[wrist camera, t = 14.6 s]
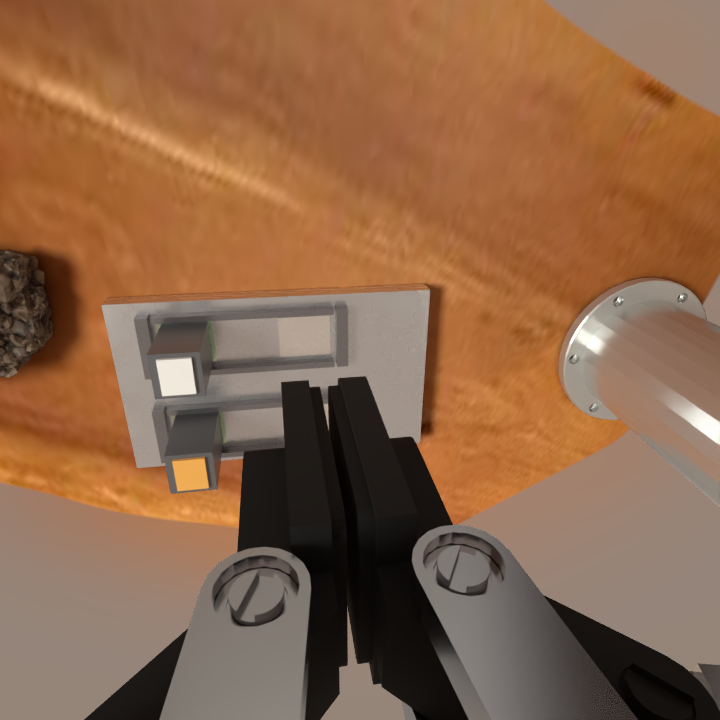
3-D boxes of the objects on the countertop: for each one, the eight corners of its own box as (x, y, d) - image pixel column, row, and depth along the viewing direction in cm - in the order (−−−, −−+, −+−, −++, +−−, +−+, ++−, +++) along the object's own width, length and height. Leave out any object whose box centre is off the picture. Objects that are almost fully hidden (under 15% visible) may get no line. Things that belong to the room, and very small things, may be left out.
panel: (424, 283, 38) (433, 293, 36) (415, 432, 44) (422, 448, 42) (107, 297, 35) (97, 309, 33) (141, 456, 41) (134, 474, 39)
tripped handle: (218, 412, 38) (211, 454, 34) (222, 446, 40) (217, 491, 35) (175, 415, 38) (163, 458, 33) (181, 449, 39) (170, 495, 34)
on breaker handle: (207, 321, 35) (199, 353, 31) (212, 361, 37) (205, 397, 32) (161, 323, 35) (145, 356, 30) (168, 364, 36) (154, 401, 32)
